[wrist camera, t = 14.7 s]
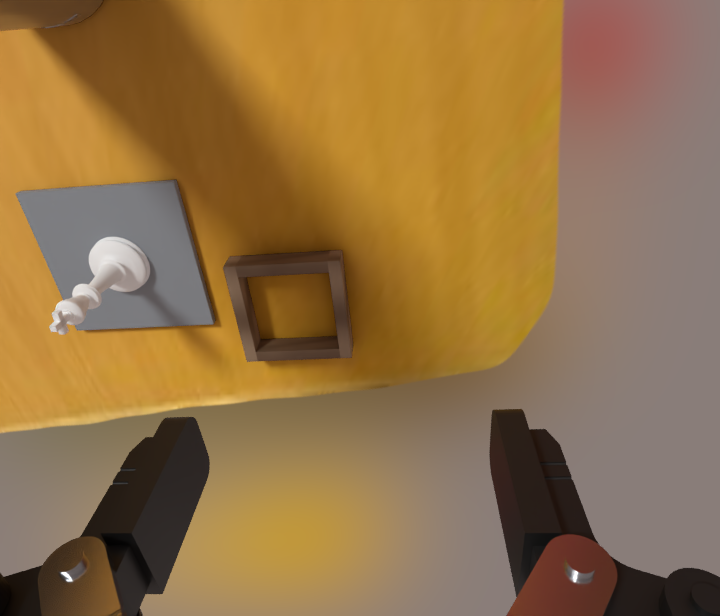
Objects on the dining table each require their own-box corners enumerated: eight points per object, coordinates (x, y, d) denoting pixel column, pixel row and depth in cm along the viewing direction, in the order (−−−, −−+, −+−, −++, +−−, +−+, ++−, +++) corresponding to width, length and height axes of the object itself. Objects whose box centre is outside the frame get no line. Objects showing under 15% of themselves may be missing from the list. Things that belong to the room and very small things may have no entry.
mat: (20, 191, 41) (15, 193, 40) (176, 179, 39) (173, 181, 39) (80, 326, 47) (77, 330, 47) (215, 320, 46) (213, 324, 46)
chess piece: (142, 236, 42) (77, 298, 33) (156, 289, 44) (98, 359, 36) (84, 236, 42) (4, 296, 33) (100, 288, 44) (30, 357, 36)
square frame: (229, 256, 43) (223, 267, 41) (342, 249, 42) (339, 260, 40) (252, 348, 48) (247, 361, 46) (353, 344, 47) (351, 357, 45)
